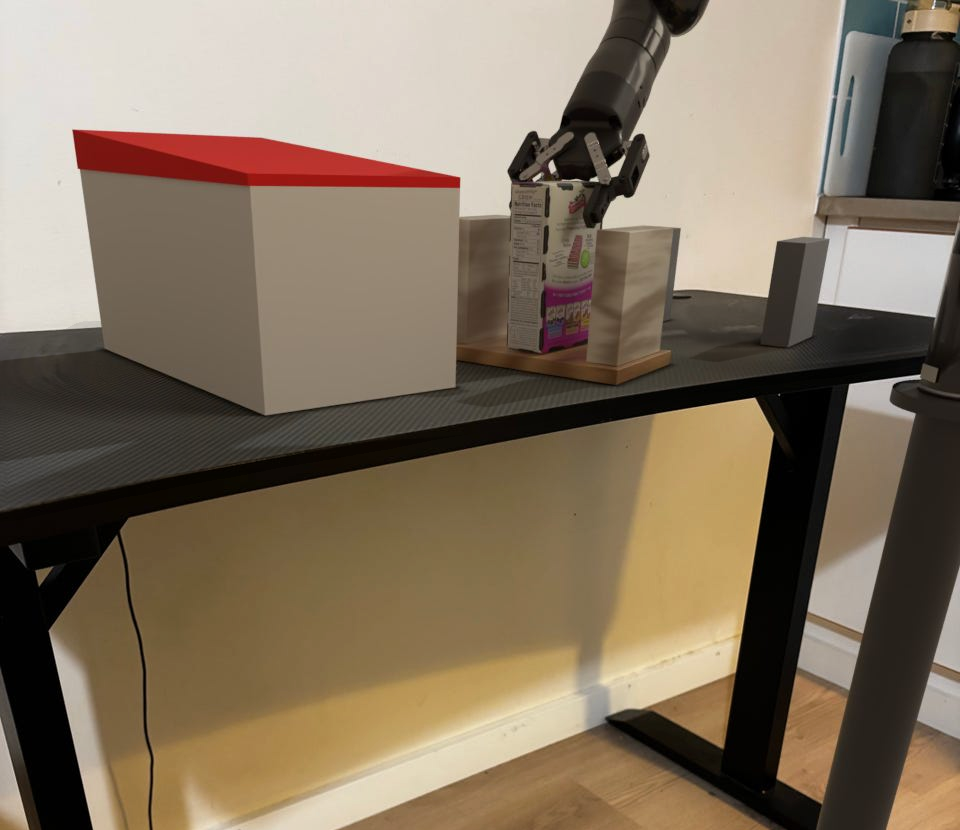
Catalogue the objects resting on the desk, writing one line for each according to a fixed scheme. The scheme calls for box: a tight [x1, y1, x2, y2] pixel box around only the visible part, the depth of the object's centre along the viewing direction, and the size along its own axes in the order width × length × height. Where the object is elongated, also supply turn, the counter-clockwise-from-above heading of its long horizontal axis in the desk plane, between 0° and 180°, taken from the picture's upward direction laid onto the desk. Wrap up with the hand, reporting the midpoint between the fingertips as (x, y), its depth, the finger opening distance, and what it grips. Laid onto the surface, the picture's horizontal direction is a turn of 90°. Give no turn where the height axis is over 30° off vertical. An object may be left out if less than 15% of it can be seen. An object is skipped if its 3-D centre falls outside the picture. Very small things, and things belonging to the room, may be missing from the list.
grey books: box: [658, 225, 830, 349], centre depth 126 cm, size 24×11×12 cm, turn 58°
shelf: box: [456, 214, 674, 386], centre depth 103 cm, size 23×14×14 cm, turn 58°
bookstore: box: [71, 128, 461, 416], centre depth 93 cm, size 21×35×21 cm, turn 41°
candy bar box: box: [507, 180, 604, 354], centre depth 102 cm, size 11×5×16 cm, turn 143°
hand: (551, 219), depth 99 cm, fingers open, 8 cm apart
